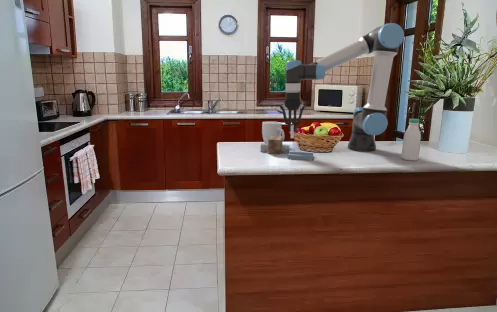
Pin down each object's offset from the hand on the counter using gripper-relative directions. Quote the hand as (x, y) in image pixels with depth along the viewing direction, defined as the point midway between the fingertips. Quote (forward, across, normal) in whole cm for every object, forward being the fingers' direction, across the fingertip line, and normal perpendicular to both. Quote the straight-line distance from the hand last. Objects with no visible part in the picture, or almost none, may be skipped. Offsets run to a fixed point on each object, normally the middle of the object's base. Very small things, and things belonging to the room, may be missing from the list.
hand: (292, 137), depth 184 cm
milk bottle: (+10, -58, -1) cm, 59 cm away
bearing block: (+8, +9, 0) cm, 12 cm away
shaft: (+8, +9, 0) cm, 12 cm away
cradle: (+8, -5, +10) cm, 14 cm away
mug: (+8, +13, -18) cm, 23 cm away
